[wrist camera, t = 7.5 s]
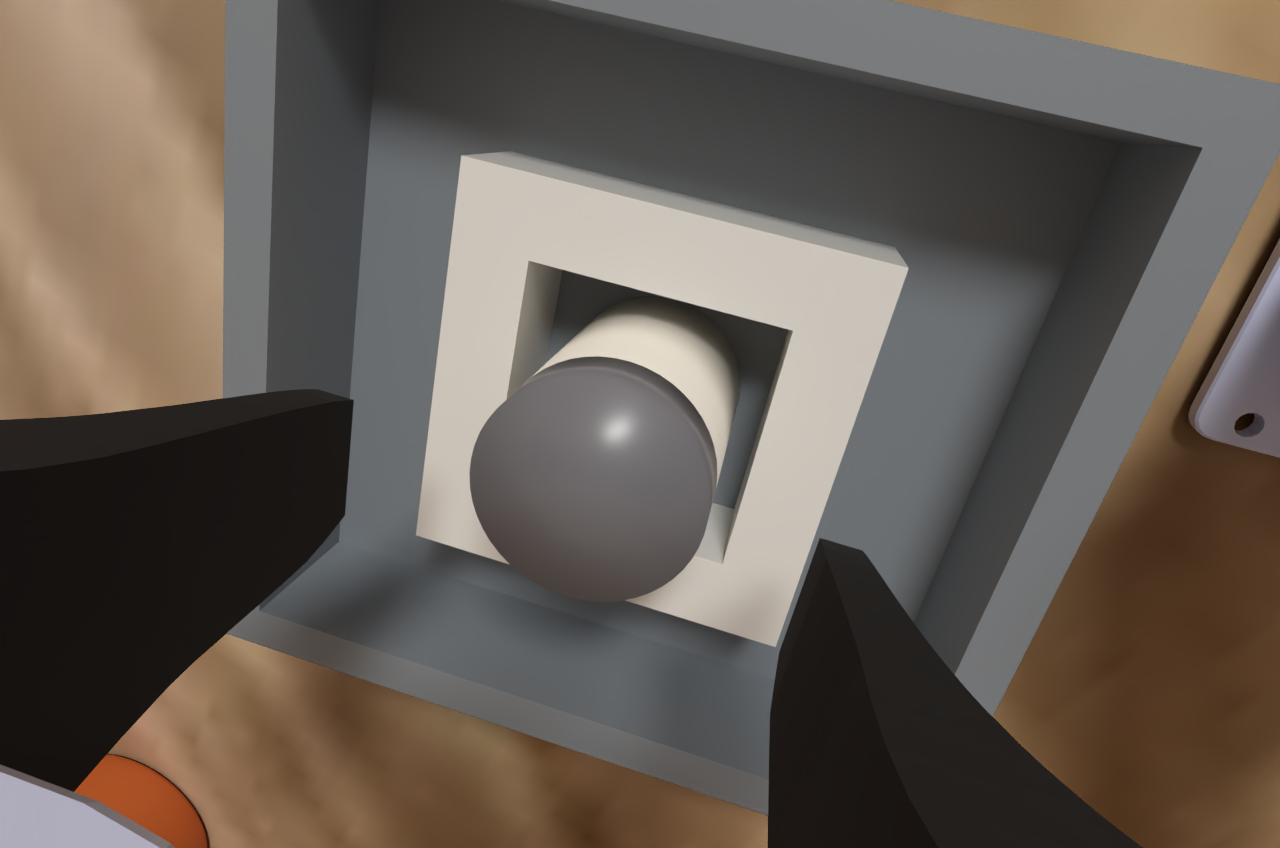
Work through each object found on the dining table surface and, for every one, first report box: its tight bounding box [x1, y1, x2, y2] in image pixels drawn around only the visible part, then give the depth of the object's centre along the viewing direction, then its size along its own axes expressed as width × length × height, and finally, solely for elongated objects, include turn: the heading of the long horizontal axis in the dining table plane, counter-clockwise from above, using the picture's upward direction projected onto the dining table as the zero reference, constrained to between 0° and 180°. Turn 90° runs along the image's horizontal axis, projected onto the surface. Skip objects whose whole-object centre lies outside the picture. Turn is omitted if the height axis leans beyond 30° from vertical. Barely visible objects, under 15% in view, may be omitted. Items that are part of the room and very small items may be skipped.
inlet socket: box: [416, 151, 909, 647], centre depth 17 cm, size 8×8×3 cm
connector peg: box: [469, 297, 741, 602], centre depth 16 cm, size 4×4×6 cm
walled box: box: [223, 0, 1280, 815], centre depth 17 cm, size 17×16×4 cm
